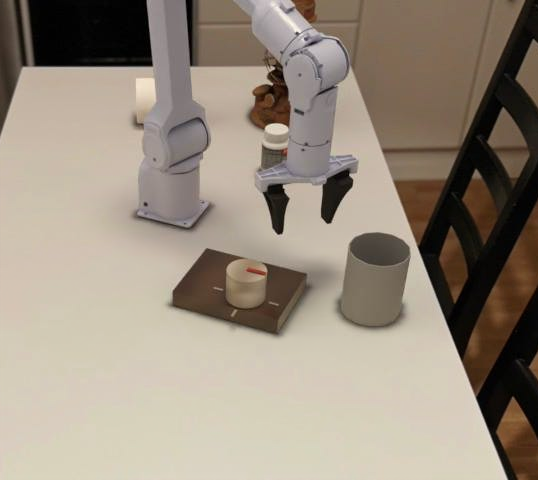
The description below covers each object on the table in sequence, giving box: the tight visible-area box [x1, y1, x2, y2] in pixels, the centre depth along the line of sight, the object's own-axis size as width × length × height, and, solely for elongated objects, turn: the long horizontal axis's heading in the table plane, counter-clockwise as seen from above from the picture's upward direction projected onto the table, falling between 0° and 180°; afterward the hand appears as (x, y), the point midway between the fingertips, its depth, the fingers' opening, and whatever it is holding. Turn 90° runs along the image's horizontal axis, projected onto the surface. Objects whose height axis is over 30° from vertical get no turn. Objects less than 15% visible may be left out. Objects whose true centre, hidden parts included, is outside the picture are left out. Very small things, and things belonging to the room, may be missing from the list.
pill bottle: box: [260, 123, 289, 172], centre depth 155 cm, size 5×5×8 cm
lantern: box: [249, 0, 318, 130], centre depth 163 cm, size 17×13×30 cm
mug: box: [135, 77, 156, 124], centre depth 171 cm, size 12×10×8 cm
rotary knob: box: [226, 258, 267, 309], centre depth 127 cm, size 6×6×5 cm
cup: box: [340, 231, 412, 327], centre depth 127 cm, size 8×8×10 cm
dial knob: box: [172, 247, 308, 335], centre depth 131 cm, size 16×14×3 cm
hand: (301, 225), depth 129 cm, fingers open, 7 cm apart
